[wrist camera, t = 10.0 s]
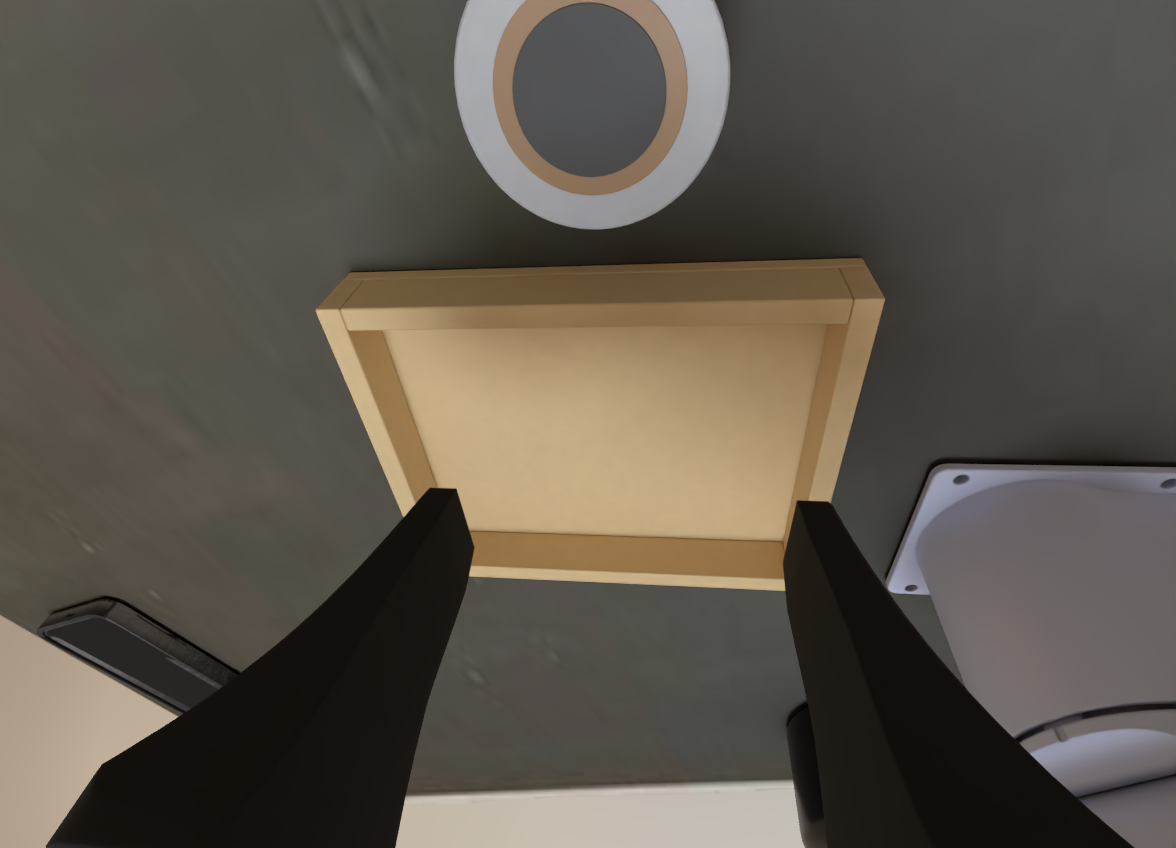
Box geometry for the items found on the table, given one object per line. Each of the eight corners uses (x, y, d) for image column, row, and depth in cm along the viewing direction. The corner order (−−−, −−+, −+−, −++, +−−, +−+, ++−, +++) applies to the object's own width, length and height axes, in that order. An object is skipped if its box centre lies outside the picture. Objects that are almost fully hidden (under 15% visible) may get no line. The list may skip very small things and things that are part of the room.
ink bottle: (927, 758, 39) (1004, 1013, 30) (787, 755, 41) (820, 993, 32) (947, 687, 33) (1051, 978, 24) (782, 688, 35) (821, 956, 26)
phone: (212, 729, 47) (28, 631, 39) (220, 714, 48) (42, 616, 39) (280, 719, 44) (97, 611, 36) (288, 704, 45) (111, 595, 36)
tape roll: (723, -97, 13) (743, -105, 9) (711, 159, 16) (721, 228, 13) (487, -72, 14) (419, -69, 10) (522, 169, 17) (481, 236, 14)
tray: (862, 256, 18) (886, 299, 16) (797, 542, 26) (807, 592, 25) (349, 271, 20) (314, 309, 18) (444, 530, 29) (427, 574, 27)
